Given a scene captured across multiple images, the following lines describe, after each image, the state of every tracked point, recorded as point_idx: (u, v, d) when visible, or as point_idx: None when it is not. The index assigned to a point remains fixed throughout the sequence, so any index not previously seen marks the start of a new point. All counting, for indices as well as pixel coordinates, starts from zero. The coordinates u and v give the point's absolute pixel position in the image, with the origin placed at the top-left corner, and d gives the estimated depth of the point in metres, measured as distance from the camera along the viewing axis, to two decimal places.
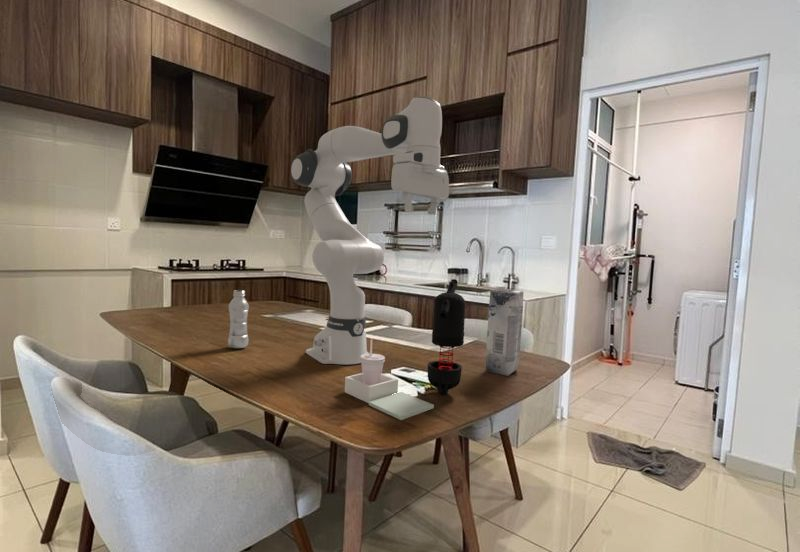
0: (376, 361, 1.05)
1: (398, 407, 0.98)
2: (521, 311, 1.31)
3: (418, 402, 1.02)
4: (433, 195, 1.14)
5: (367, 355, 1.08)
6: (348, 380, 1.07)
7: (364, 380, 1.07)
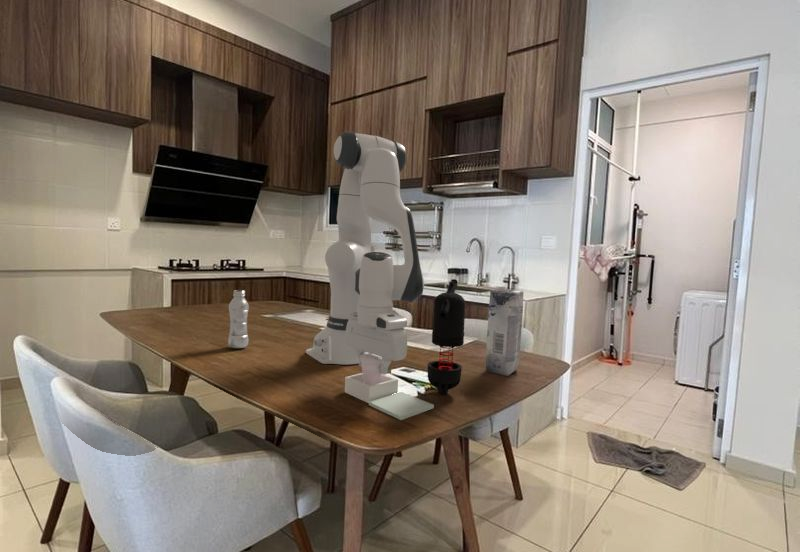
0: (376, 361, 1.05)
1: (398, 407, 0.98)
2: (521, 311, 1.31)
3: (418, 402, 1.02)
4: None
5: (367, 355, 1.08)
6: (348, 380, 1.07)
7: (364, 380, 1.07)
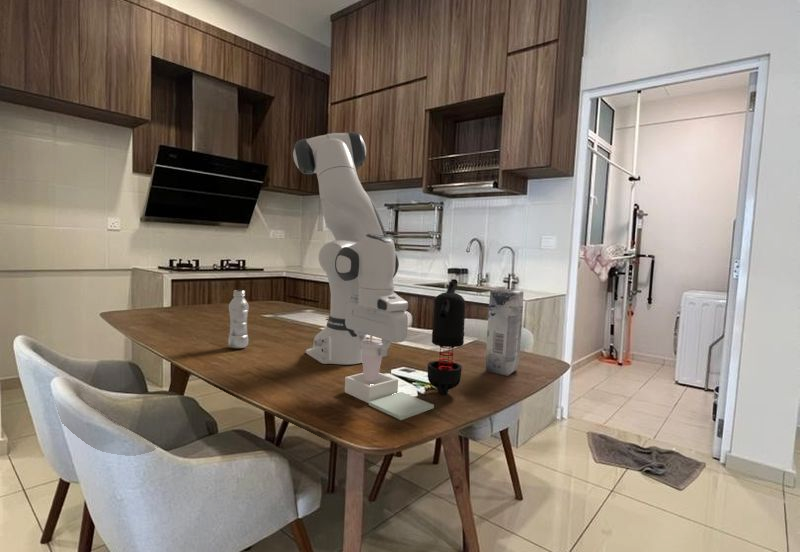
0: (377, 346, 1.05)
1: (398, 407, 0.98)
2: (521, 311, 1.31)
3: (418, 402, 1.02)
4: None
5: (367, 340, 1.08)
6: (348, 380, 1.07)
7: (364, 365, 1.07)
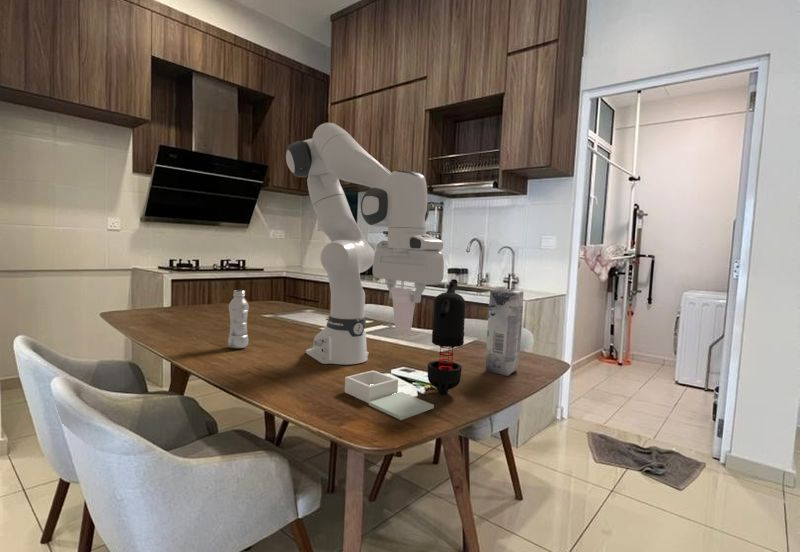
0: (410, 292, 0.96)
1: (398, 407, 0.98)
2: (521, 311, 1.31)
3: (418, 402, 1.02)
4: None
5: (398, 287, 0.99)
6: (348, 380, 1.07)
7: (396, 314, 0.97)
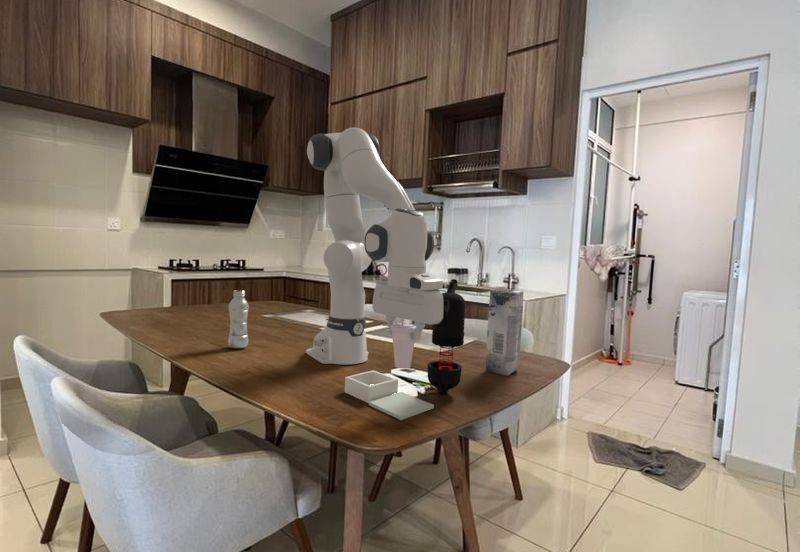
0: (410, 330, 0.96)
1: (398, 407, 0.98)
2: (521, 311, 1.31)
3: (418, 402, 1.02)
4: None
5: (398, 324, 0.99)
6: (348, 380, 1.07)
7: (396, 351, 0.98)
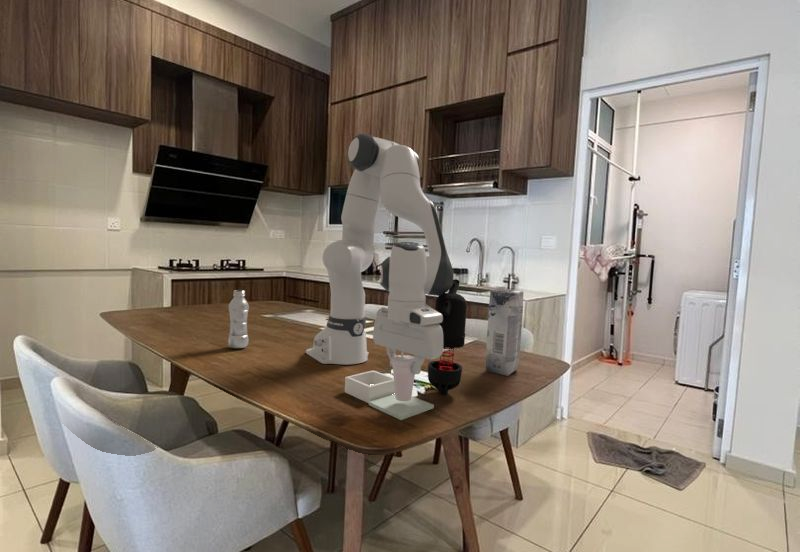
0: (410, 363, 0.97)
1: (398, 407, 0.98)
2: (521, 311, 1.31)
3: (418, 402, 1.02)
4: None
5: (398, 357, 1.00)
6: (348, 380, 1.07)
7: (396, 384, 0.98)
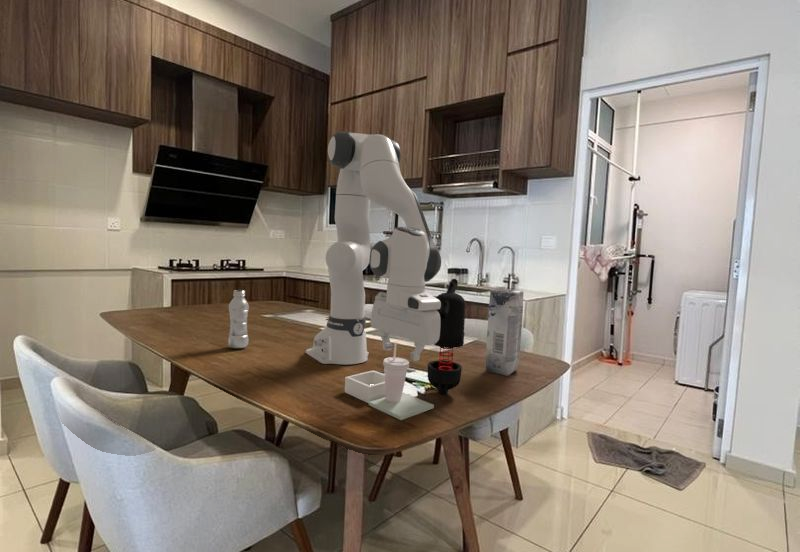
0: (402, 366, 0.99)
1: (398, 407, 0.98)
2: (521, 311, 1.31)
3: (418, 402, 1.02)
4: None
5: (390, 359, 1.02)
6: (348, 380, 1.07)
7: (387, 386, 1.01)
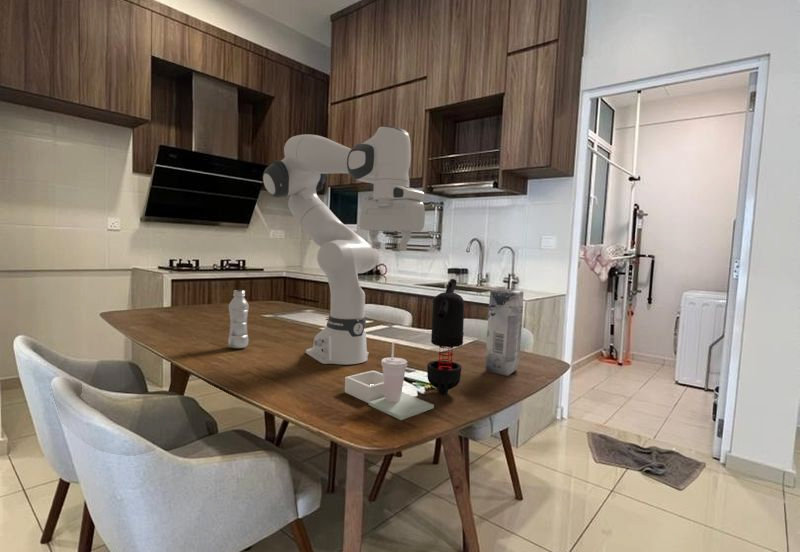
0: (400, 365, 0.99)
1: (398, 407, 0.98)
2: (521, 311, 1.31)
3: (418, 402, 1.02)
4: None
5: (388, 359, 1.02)
6: (348, 380, 1.07)
7: (386, 386, 1.01)
